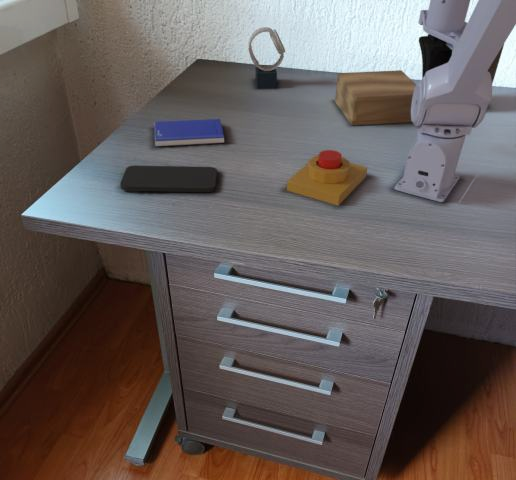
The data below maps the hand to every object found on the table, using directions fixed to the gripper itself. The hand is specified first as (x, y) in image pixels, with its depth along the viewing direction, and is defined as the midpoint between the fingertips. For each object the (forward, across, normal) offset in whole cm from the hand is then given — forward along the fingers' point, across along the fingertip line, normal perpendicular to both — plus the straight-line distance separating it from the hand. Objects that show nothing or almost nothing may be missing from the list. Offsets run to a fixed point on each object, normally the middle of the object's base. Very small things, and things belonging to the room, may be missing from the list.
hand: (429, 86), depth 88 cm
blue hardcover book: (+11, +10, +40) cm, 43 cm away
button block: (+9, -12, +20) cm, 25 cm away
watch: (+13, +36, +21) cm, 44 cm away
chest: (+12, +17, +2) cm, 20 cm away
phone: (+9, -7, +45) cm, 46 cm away
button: (+6, -11, +20) cm, 24 cm away
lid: (+7, +17, +2) cm, 18 cm away
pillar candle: (+12, +18, -18) cm, 28 cm away
